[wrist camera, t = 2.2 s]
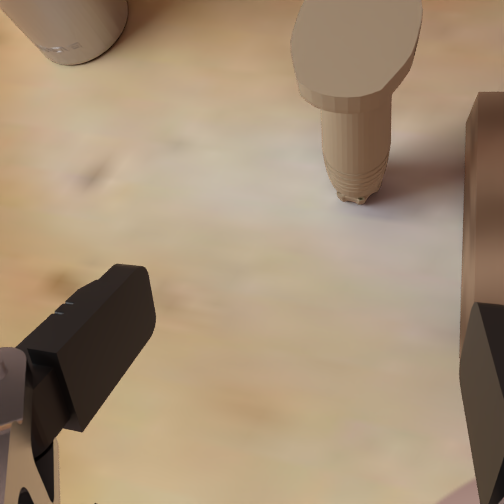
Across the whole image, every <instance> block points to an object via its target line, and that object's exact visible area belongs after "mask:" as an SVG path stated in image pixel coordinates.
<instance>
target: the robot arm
mask: <svg viewBox="0 0 504 504" xmlns="http://www.w3.org/2000/svg"><path fill="white" fill-rule="evenodd" d="M0 9H1V10H2V11H3V12H4V13H5V14H6V15H7V16H8V17H9V18H10V19H11V20H12V21H13V22H14V23H15V25H16V26H17V27H18V28H19V29H20V30H21V31H22V32H23V33H24V34H25V35H26V36H27V37H28V38H29V39H30V40H31V41H32V43H33V44H34V45H35V46H36V47H37V48H38V49H39V50H40V51H41V52H42V53H43V54H44V55H45V56H46V57H47V58H48V59H50V60H51V61H53V62H55V63H58V64H63V65H74V64H81V63H84V62H87V61H90V60H92V59H94V58H96V57H98V56H99V55H101V54H102V53H103V52H105V51H106V50H107V49H109V48H110V47H111V46H112V45H113V43H114V42H115V41H116V40H117V39H118V37H119V36H120V34H121V33H122V31H123V29H124V26H125V24H126V20H127V16H128V5H127V1H126V0H0ZM155 323H156V313H155V308H154V302H153V297H152V291H151V286H150V280H149V275H148V272H147V270H146V268H145V267H143V266H135V265H125V264H115V265H113V266H112V267H111V268H110V269H109V270H108V271H107V272H106V273H105V274H104V275H103V276H102V277H101V278H100V279H99V280H95V281H93V282H91V283H89V284H87V285H86V286H84V287H82V288H80V289H78V290H77V291H76V292H75V293H74V294H73V295H72V296H71V297H70V298H68V299H67V300H66V301H65V304H62V305H61V306H60V307H59V308H58V309H57V310H55V313H54V314H51V315H50V316H49V317H48V318H47V319H46V320H45V321H44V322H42V323H41V324H40V325H39V326H38V327H37V328H36V329H35V330H34V331H33V332H32V333H31V334H29V335H28V336H27V337H26V338H25V339H24V340H23V341H22V342H21V343H20V344H19V345H18V346H16V347H15V348H12V347H3V348H0V504H60V473H59V445H58V441H57V439H56V436H57V435H58V434H59V432H60V431H61V430H62V428H64V429H69V430H74V431H78V432H83V431H84V429H85V428H86V427H87V425H88V424H89V422H90V421H91V420H92V418H93V417H94V416H95V414H96V413H97V411H98V410H99V409H100V407H101V406H102V404H103V403H104V402H105V400H106V399H107V397H108V396H109V395H110V393H111V392H112V390H113V389H114V388H115V386H116V385H117V383H118V382H119V381H120V379H121V378H122V376H123V375H124V374H125V372H126V371H127V369H128V368H129V367H130V365H131V364H132V363H133V361H134V360H135V358H136V357H137V356H138V354H139V353H140V351H141V350H142V349H143V347H144V346H145V344H146V343H147V342H148V340H149V339H150V337H151V336H152V334H153V331H154V328H155ZM459 379H460V387H461V393H462V399H463V405H464V411H465V416H466V422H467V428H468V434H469V440H470V446H471V452H472V458H473V464H474V470H475V476H476V481H477V487H478V493H479V499H480V504H504V305H501V304H491V303H481V302H474V304H473V306H472V308H471V312H470V317H469V321H468V326H467V330H466V335H465V339H464V344H463V348H462V353H461V358H460V367H459ZM95 504H96V503H95Z"/></svg>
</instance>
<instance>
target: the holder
mask: <svg viewBox="0 0 504 504" xmlns="http://www.w3.org/2000/svg"><path fill="white" fill-rule="evenodd" d="M474 302H481V303H491V304H501V305H504V92H478V95H477V97H476V100H475V102H474V105H473V107H472V110H471V112H470V114H469V117H468V119H467V122H466V143H465V178H464V213H463V249H462V284H461V319H460V354H459V358H461V353H462V348H463V344H464V339H465V335H466V330H467V326H468V321H469V317H470V312H471V308H472V306H473V304H474Z"/></svg>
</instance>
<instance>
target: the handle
mask: <svg viewBox="0 0 504 504" xmlns="http://www.w3.org/2000/svg"><path fill="white" fill-rule="evenodd" d="M422 13H423V8H422V2H421V0H304V2H303V4H302V6H301V8H300V11H299V14H298V17H297V20H296V23H295V26H294V29H293V32H292V37H291V55H292V60H293V65H294V70H295V75H296V80H297V84H298V89H299V93H300V95H301V97H302V98H303V99H305V100H306V101H307V102H308V103H310V104H311V105H313V106H314V107H317V108H319V109H321V128H322V150H323V156H324V162H325V166H326V170H327V173H328V176H329V179H330V181H331V183H332V184H333V186H334V188H335V189H336V190H337V196H338V198H339V199H340V200H341V201H343V202H345V201H352V202H355V203H357V204H358V205H360V204H364V203H365V202H366V200H367V198H368V197H369V196H370V195H371V194H373V193H375V192H377V191H378V190H379V188H380V186H381V183H382V178H383V175H384V173H385V170H386V166H387V162H388V157H389V151H390V144H391V101H392V93H393V92H394V91H395V90H396V89H397V87H398V86H399V85H400V84H401V82H402V81H403V79H404V78H405V77H406V75H407V74H408V72H409V71H410V68H411V66H412V62H413V59H414V55H415V51H416V47H417V43H418V39H419V34H420V29H421V23H422Z"/></svg>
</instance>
